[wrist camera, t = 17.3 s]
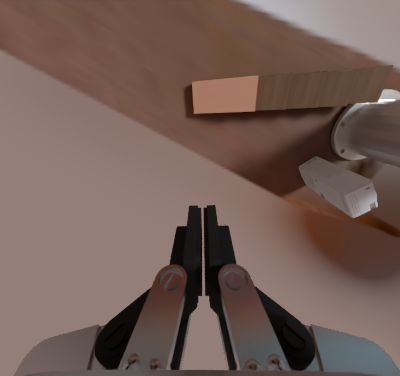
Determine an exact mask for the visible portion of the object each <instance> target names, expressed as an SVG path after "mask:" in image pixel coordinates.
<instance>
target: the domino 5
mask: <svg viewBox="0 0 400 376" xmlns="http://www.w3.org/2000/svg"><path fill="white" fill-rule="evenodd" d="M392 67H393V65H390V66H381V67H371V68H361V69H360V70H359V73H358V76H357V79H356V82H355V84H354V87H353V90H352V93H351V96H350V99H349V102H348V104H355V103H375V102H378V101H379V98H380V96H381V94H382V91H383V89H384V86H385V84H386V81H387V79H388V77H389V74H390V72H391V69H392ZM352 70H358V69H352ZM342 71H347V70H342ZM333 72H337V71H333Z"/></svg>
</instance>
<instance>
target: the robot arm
mask: <svg viewBox="0 0 400 376" xmlns="http://www.w3.org/2000/svg"><path fill="white" fill-rule="evenodd" d="M331 145H332V149H333V150H334V152H335V153H336V154H337V155H338V156H340V157H342V158H345V159H347V160H360V159H364V158H367V157H368V158H371V159H374V160H378V161H381V162H384V163H387V164H390V165H393V166H396V167H399V168H400V92H398V91H396V90H393V89H383V91H382V94H381V96H380V98H379V101H378V102H375V103H355V104H350V105H349V106H348V107H347V108H346V109H345V110H344V111H343V112H342V113H341V115H340V116H339V118H338V119H337V121H336V123H335V125H334V128H333V130H332V135H331ZM201 225H202V224H201V208H198V206H189V212H188V221H187V226H178V227H177V229H176V234H175V239H174V244H173V249H172V254H171V260H170V264H169V265H168V266H165V267H164V268H162V269H161V270H160V271H159V272H158V274H157V275H156V277H155V280H154V282H153V285H152V287H151V288H150V289H148V290H147V291H146V292H145V293H144V294H142V295H141V296H140V297H139V298H137V299H136V300H135V301H134V302H133V303H131V304H130V305H129V306H128V307H126V308H125V309H124V310H123V311H121V312H120V313H119V314H118V315H117V316H115V317H114V318H113V319H112V320H110V321H109V322H108V323H107V324H106V325H103V326H99V325H95V326H91V327H88V328H84V329H81V330H77V331H73V332H69V333H66V334H62V335H58V336H54V337H51V338H48V339H46V340H44V341H42V342H40V343H39V344H37V345H36V346H35V347H33V348H32V350H31V351H30V352H29V353H28V354H27V355H26V356H25V358H24V359H23V361H22V362H21V364H20V365H19V367H18V369H17V371H16V373H15V375H14V376H400V371H399V369H398V367H397V365H396V364H395V363H394V361H393V360H392V358H391V357H390V356H389V355H388V354H387V353H386V352H385V351H384V350H383V349H382V348H381V347H379V346H378V345H377V344H375V343H374V342H372V341H370V340H367V339H365V338H362V337H358V336H354V335H350V334H347V333H343V332H339V331H335V330H331V329H327V328H323V327H320V326H316V325H312V324H311V325H310V326H307V325H303V324H302V323H301V322H300V321H299V320H298V319H296V318H295V317H294V316H292V315H291V314H290V313H289V312H287V311H286V310H285V309H283V308H282V307H281V306H280V305H278V304H277V303H276V302H274V301H273V300H272V299H271V298H269V297H268V296H267V295H266V294H264V293H263V292H262V291H260V290H259V289H258V288H257V287H255V286H254V284H253V281H252V279H251V277H250V275H249V273H248V272H247V271H246V270H245V269H244V268H243V267H241V266H239V265H237V264H236V260H235V255H234V250H233V245H232V241H231V236H230V231H229V227H228V226H218V223H217V215H216V208H215V205H212V206H211V205H210V206H207V208H204V256H205V295H206V296H209V298H210V299H209V301H210V307H211V308H212V309H213V311H214V312H215V313H216V314H217V319H218V323H219V329H220V334H221V339H222V344H223V349H224V354H225V359H226V364H227V370H181V369H182V364H183V358H184V352H185V347H186V341H187V335H188V330H189V324H190V318H191V313H192V312H193V311H194V310H195V309H196V308H197V303H198V296H202V226H201Z"/></svg>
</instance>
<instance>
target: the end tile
mask: <svg viewBox="0 0 400 376" xmlns="http://www.w3.org/2000/svg"><path fill="white" fill-rule="evenodd" d="M257 85H258V75H257V76H247V77H237V78H226V79H216V80H206V81H196V82H192V91H193V106H194V114H198V113H225V112H252V111H255V105H256V95H257Z"/></svg>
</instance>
